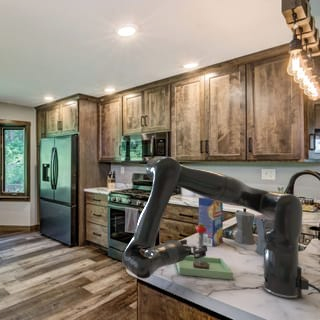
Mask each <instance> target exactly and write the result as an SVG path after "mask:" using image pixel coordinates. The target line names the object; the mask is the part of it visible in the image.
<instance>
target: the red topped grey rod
mask: <svg viewBox="0 0 320 320" xmlns="http://www.w3.org/2000/svg"><path fill="white" fill-rule="evenodd" d="M195 231H196V233H198V247H200V246H203V245H204V244H203V235H204V233H205V232H206V227H205V226H204V224H203V223H199V222H198V224H197V225H196V227H195ZM193 267H194V268H196V269H207V270H209V264H208V263H207V262H204V261H203V257H201V258H199V261H194V262H193Z"/></svg>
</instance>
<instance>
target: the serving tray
mask: <svg viewBox="0 0 320 320" xmlns="http://www.w3.org/2000/svg"><path fill="white" fill-rule="evenodd" d="M194 261H199V258H198V259H195V258H194V256H186V257H185V259H184V260H183V261H181V262H178V263H175V264H176V267H177V272H178V274H179V275H181V276H192V277H203V278H213V279H222V280H223V279H224V280H232V281H233V280H234V272H233V271H232V270H231V268H230V267H229V266H228V264H227V263H226V262H225V261H224V259H223V258H222V257H211V256H205V257H203V261H204V262H207V263H208V264H209V270H207V269H196V268H194V267H193V262H194Z"/></svg>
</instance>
